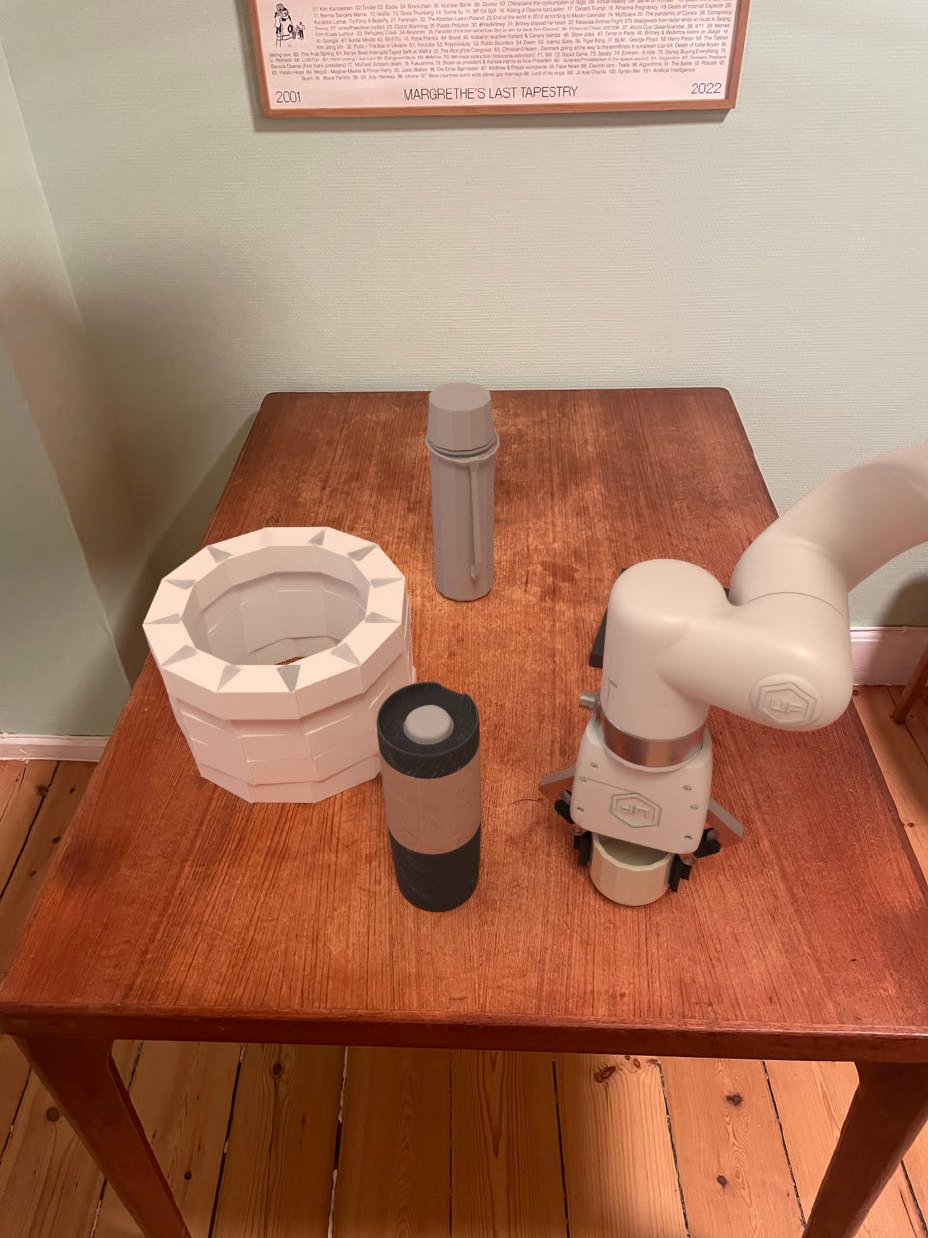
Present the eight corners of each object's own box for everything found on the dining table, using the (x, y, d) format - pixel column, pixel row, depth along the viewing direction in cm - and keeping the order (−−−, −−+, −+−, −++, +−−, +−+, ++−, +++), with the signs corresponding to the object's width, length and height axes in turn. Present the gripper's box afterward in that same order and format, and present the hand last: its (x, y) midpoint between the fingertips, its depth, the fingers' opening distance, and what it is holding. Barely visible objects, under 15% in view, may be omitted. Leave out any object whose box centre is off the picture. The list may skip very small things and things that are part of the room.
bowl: (677, 848, 77) (684, 812, 74) (663, 916, 72) (670, 880, 69) (599, 827, 79) (602, 791, 76) (580, 892, 74) (583, 856, 71)
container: (413, 813, 82) (402, 689, 72) (159, 819, 82) (111, 696, 72) (419, 634, 101) (411, 515, 91) (212, 638, 101) (181, 521, 91)
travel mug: (404, 926, 74) (386, 767, 61) (385, 850, 79) (365, 691, 66) (493, 903, 75) (493, 743, 62) (468, 830, 81) (464, 671, 68)
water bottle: (425, 575, 110) (414, 386, 94) (485, 562, 112) (485, 375, 95) (446, 621, 103) (438, 426, 87) (510, 607, 105) (514, 414, 89)
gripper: (519, 728, 64) (518, 873, 75) (772, 788, 59) (730, 934, 70) (548, 660, 69) (543, 805, 80) (782, 710, 64) (741, 857, 76)
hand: (630, 864), depth 75 cm, fingers closed on bowl, 7 cm apart
